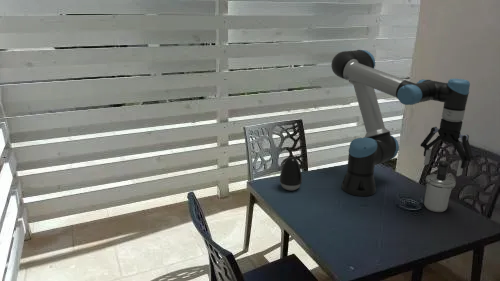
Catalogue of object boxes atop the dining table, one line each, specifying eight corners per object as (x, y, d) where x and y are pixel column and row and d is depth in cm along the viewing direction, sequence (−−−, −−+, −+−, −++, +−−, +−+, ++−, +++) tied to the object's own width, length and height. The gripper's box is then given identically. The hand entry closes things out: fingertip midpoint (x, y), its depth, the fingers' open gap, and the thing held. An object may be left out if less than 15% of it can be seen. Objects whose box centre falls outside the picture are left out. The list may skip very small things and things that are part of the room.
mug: (436, 215, 153) (441, 190, 150) (418, 205, 161) (422, 181, 157) (456, 208, 158) (461, 184, 155) (438, 199, 166) (442, 176, 162)
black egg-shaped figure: (305, 186, 177) (307, 156, 173) (295, 195, 169) (297, 163, 164) (285, 181, 183) (287, 151, 178) (275, 189, 174) (276, 158, 169)
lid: (420, 181, 157) (423, 161, 155) (434, 174, 164) (437, 155, 161) (446, 190, 149) (450, 169, 146) (460, 183, 155) (464, 163, 152)
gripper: (416, 113, 155) (409, 161, 162) (481, 128, 136) (469, 182, 143) (426, 111, 159) (418, 157, 166) (490, 125, 140) (478, 177, 147)
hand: (442, 169), depth 155 cm, fingers open, 13 cm apart
